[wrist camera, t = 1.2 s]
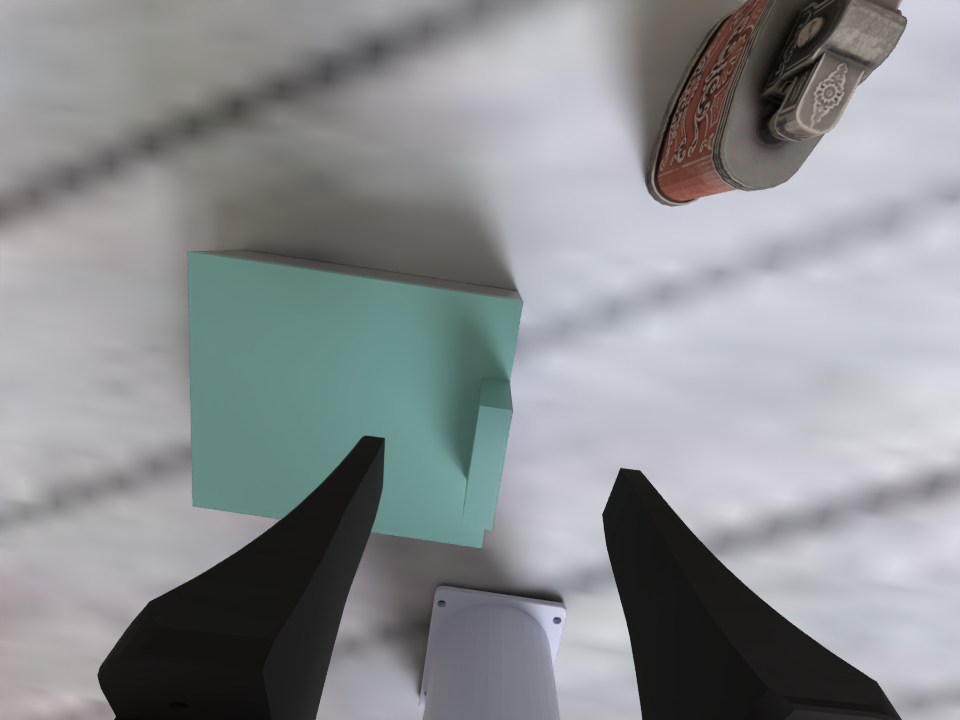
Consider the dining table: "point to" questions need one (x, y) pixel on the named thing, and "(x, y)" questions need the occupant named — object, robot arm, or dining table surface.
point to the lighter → (766, 93)
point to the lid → (348, 392)
